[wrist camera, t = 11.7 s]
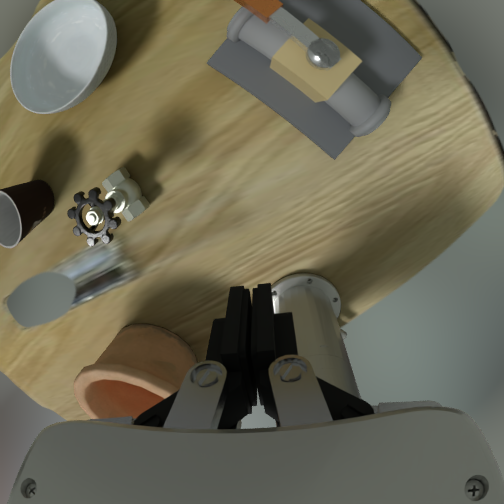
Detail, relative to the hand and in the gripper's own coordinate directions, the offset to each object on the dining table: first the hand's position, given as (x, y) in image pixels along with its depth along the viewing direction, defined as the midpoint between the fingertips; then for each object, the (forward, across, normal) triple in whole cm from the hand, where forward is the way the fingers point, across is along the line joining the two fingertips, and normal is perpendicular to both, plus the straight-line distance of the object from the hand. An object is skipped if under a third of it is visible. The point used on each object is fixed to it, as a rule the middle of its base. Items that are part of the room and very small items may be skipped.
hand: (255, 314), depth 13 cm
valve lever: (+20, -4, -17) cm, 27 cm away
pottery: (+29, +23, +30) cm, 48 cm away
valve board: (+29, -10, -16) cm, 34 cm away
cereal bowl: (+29, +23, -23) cm, 43 cm away
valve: (+29, +18, -1) cm, 34 cm away
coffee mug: (+29, +37, -3) cm, 47 cm away
